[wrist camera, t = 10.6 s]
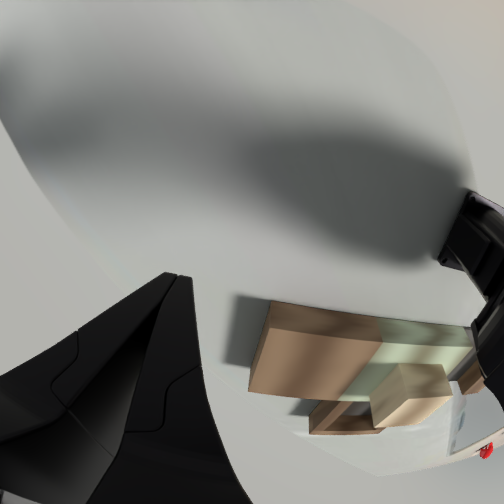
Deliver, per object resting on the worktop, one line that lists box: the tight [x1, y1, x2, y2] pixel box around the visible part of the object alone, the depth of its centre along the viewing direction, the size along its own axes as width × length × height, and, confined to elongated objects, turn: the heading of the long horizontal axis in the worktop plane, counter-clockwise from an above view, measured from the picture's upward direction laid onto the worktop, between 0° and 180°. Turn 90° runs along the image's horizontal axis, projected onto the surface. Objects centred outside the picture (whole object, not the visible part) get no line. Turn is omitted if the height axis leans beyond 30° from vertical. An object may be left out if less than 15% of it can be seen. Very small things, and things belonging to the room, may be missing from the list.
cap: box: [480, 442, 493, 459], centre depth 59 cm, size 8×6×6 cm
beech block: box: [369, 363, 453, 428], centre depth 22 cm, size 6×6×4 cm
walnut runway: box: [248, 301, 485, 435], centre depth 27 cm, size 34×20×3 cm, turn 80°
